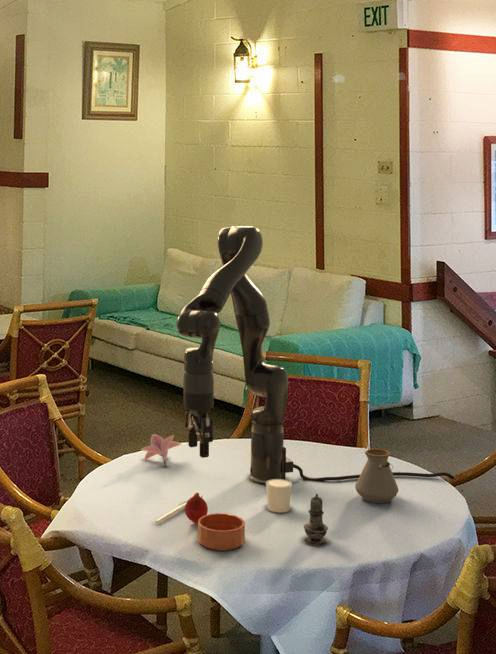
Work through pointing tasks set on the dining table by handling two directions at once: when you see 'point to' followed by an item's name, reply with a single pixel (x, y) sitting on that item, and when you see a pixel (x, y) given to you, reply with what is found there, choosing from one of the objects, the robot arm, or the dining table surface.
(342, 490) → the dining table surface
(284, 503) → the cream cylinder
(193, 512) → the onion
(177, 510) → the fork
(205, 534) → the bowl
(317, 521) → the pawn-shaped pepper mill
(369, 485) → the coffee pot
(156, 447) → the lily
